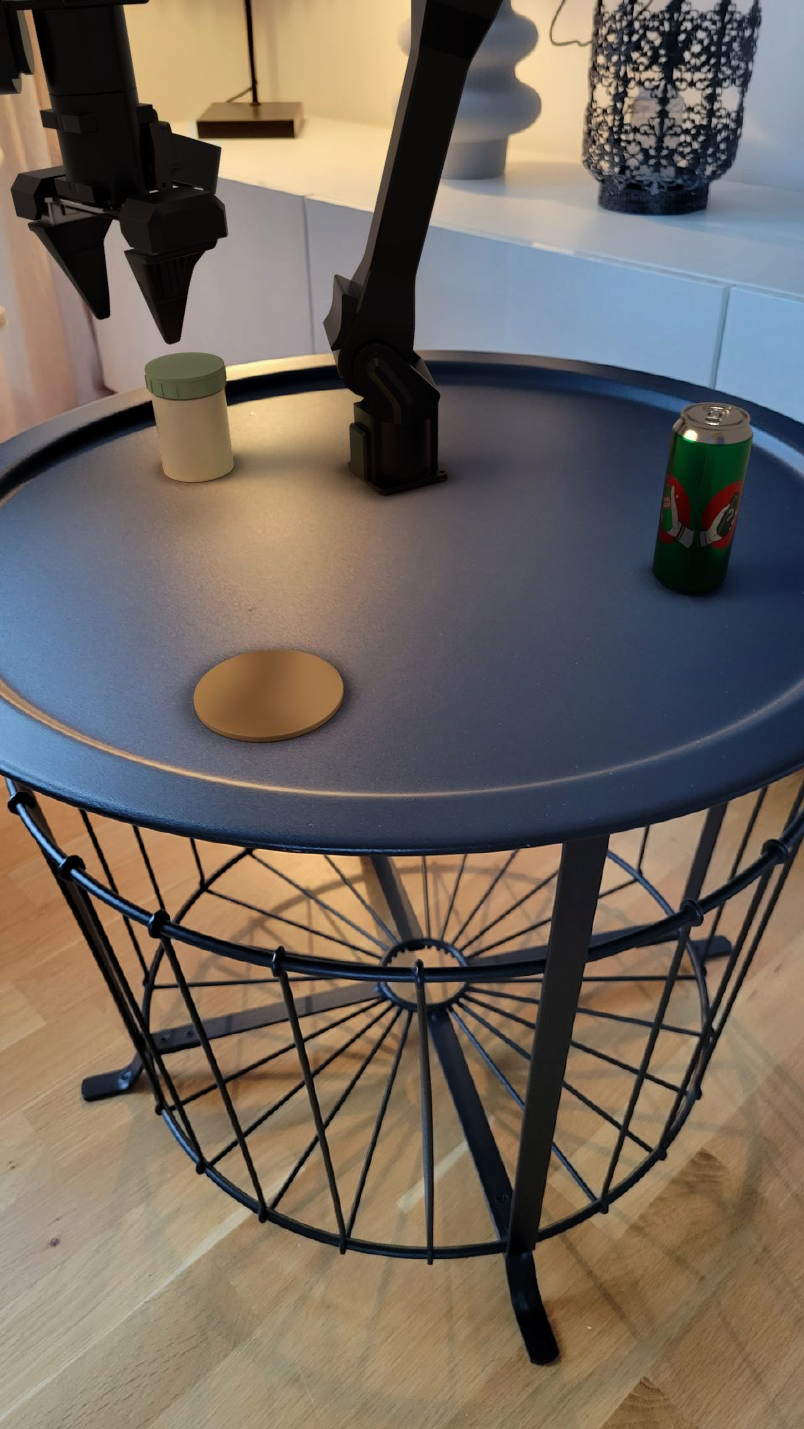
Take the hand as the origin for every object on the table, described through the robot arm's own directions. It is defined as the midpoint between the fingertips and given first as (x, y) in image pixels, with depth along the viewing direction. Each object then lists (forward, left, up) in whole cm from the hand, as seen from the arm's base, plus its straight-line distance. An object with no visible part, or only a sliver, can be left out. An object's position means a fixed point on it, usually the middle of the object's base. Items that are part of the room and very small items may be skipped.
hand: (137, 330), depth 79 cm
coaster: (+4, +31, -13) cm, 34 cm away
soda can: (-27, +33, -13) cm, 45 cm away
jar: (-4, -3, -13) cm, 14 cm away
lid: (-4, -3, -5) cm, 7 cm away
